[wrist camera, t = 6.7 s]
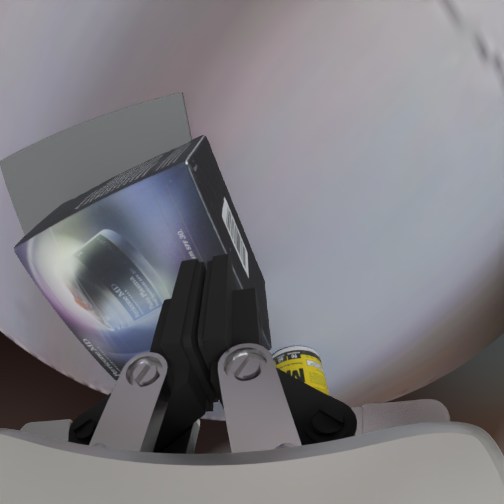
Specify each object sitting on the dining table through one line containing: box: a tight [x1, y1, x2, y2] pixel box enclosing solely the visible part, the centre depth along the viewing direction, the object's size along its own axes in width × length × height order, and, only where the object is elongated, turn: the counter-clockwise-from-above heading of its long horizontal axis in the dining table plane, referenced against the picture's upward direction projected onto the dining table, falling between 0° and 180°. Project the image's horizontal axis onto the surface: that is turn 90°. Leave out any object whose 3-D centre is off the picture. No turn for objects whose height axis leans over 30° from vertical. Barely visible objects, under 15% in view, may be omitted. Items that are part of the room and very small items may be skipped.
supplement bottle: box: [272, 346, 329, 395], centre depth 22 cm, size 5×5×8 cm
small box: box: [14, 135, 272, 381], centre depth 16 cm, size 11×6×10 cm
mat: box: [0, 93, 192, 235], centre depth 18 cm, size 14×14×1 cm
